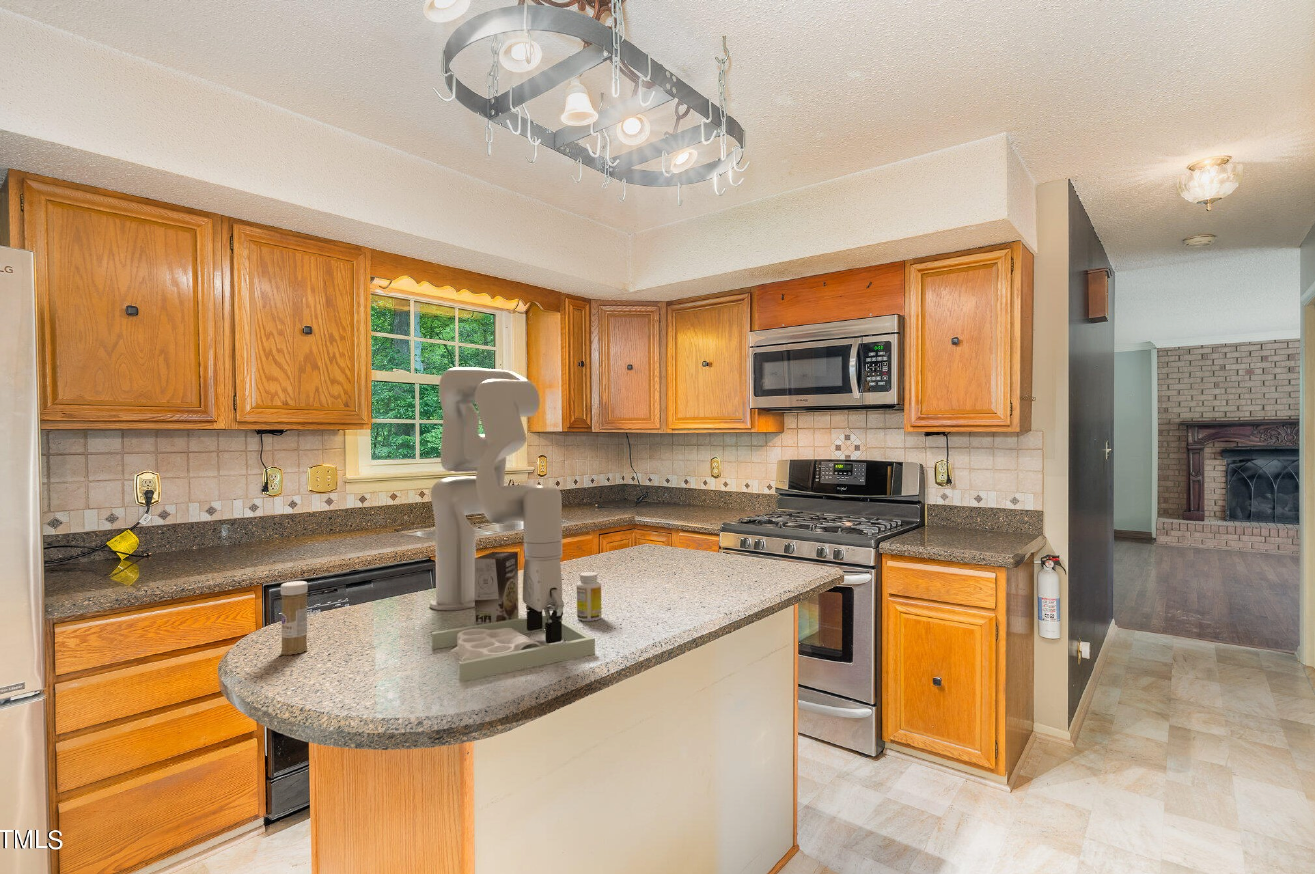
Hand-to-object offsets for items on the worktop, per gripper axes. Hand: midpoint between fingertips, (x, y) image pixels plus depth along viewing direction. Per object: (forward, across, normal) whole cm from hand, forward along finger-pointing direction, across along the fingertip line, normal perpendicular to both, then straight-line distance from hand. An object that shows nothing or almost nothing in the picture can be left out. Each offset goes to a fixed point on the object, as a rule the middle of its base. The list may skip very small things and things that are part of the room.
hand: (543, 635), depth 129 cm
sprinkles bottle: (+2, -23, -42) cm, 48 cm away
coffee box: (+2, -16, -4) cm, 17 cm away
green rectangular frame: (+2, 0, -6) cm, 6 cm away
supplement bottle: (+2, -12, +16) cm, 20 cm away
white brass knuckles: (+2, 0, -10) cm, 11 cm away
